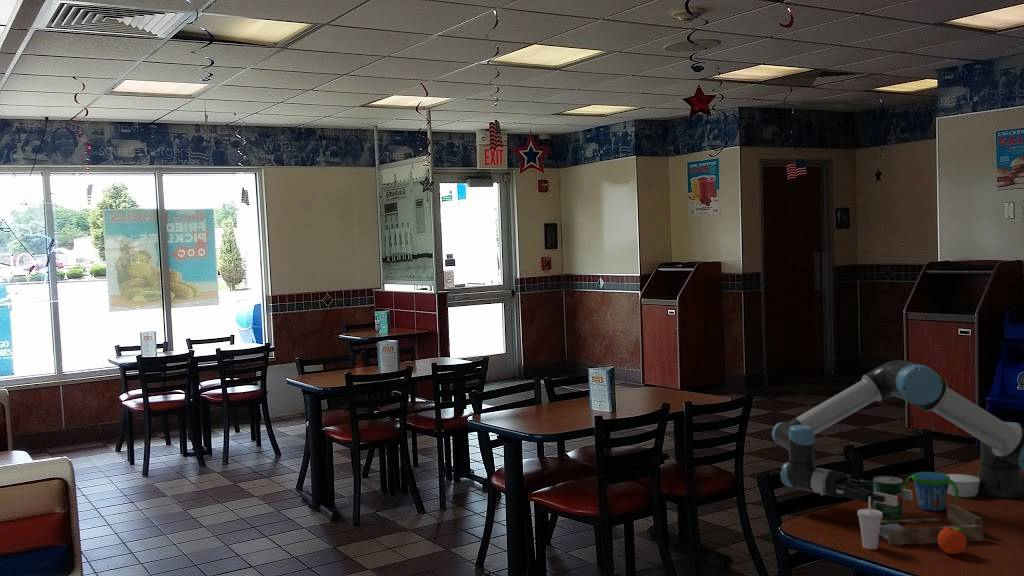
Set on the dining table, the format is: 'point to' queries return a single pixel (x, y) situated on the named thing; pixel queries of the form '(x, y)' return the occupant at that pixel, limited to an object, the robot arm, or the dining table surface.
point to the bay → (937, 528)
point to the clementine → (952, 540)
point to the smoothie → (870, 526)
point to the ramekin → (964, 485)
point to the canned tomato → (892, 488)
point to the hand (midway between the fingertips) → (904, 498)
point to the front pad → (885, 528)
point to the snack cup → (932, 490)
